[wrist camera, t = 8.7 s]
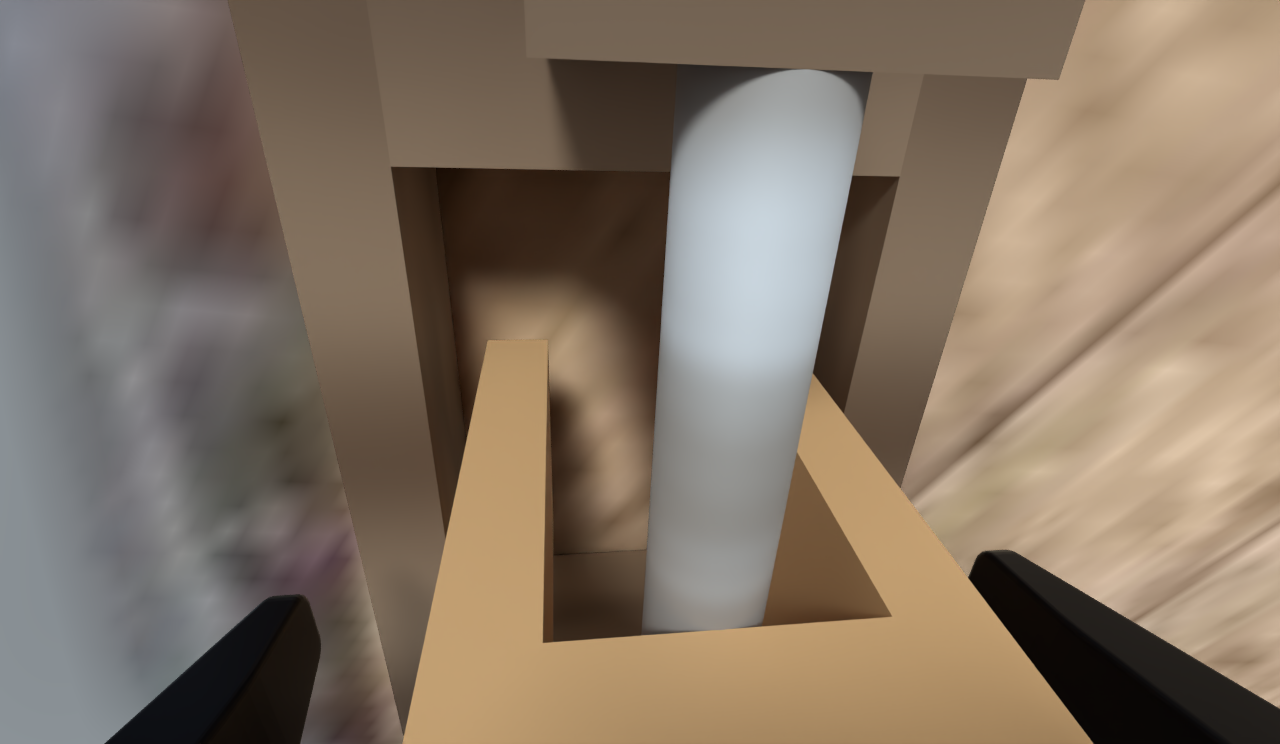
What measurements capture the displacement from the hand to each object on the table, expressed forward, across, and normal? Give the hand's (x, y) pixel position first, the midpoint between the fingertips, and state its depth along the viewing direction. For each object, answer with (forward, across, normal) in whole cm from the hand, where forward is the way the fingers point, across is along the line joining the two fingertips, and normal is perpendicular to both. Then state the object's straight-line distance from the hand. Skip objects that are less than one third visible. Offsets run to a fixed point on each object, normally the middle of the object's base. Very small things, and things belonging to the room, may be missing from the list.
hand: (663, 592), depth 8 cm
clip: (+4, 0, 0) cm, 4 cm away
